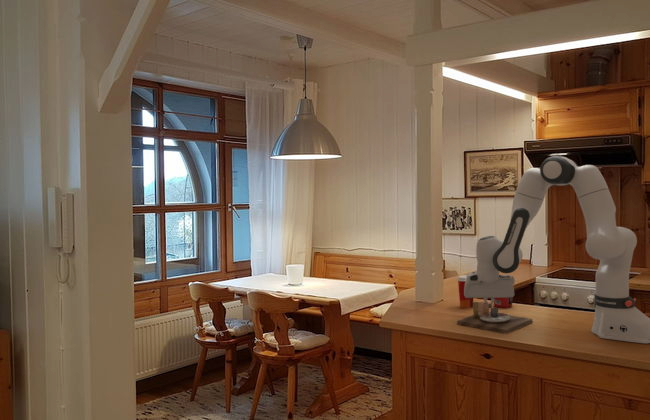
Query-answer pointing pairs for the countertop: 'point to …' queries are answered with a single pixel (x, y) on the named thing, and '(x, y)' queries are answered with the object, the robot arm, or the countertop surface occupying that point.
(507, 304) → the canned food
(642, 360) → the countertop surface
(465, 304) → the paper cup
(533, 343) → the countertop surface
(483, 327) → the base board
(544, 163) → the robot arm
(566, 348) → the countertop surface
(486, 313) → the flange
